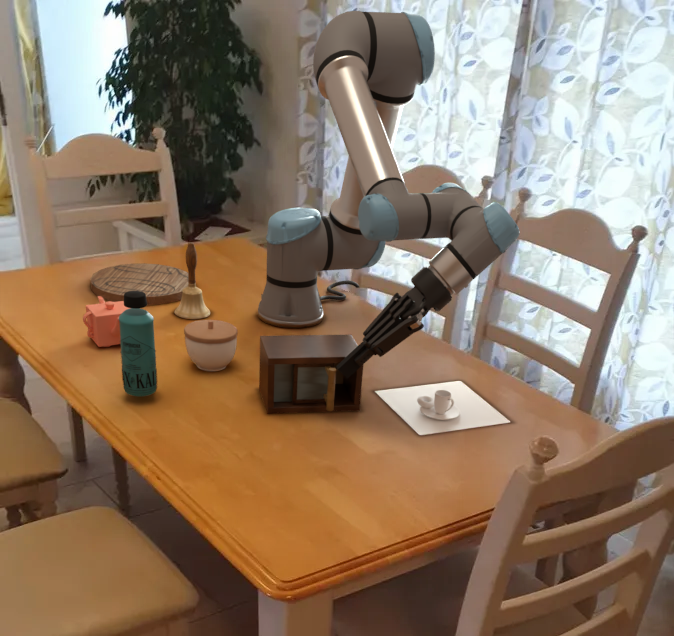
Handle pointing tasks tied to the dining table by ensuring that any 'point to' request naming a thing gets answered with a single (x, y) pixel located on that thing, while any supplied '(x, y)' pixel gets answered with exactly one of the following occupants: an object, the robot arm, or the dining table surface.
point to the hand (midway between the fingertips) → (341, 372)
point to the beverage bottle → (137, 346)
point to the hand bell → (192, 291)
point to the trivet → (140, 282)
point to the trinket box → (211, 343)
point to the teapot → (104, 322)
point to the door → (314, 384)
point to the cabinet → (305, 350)
